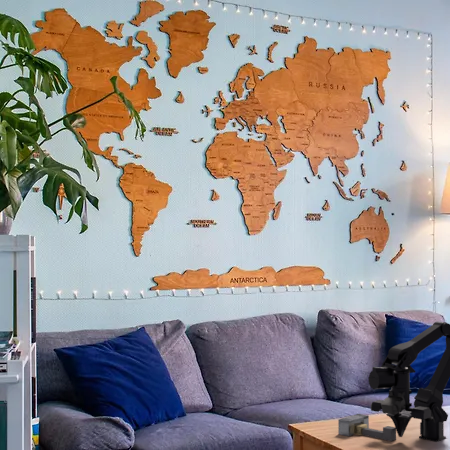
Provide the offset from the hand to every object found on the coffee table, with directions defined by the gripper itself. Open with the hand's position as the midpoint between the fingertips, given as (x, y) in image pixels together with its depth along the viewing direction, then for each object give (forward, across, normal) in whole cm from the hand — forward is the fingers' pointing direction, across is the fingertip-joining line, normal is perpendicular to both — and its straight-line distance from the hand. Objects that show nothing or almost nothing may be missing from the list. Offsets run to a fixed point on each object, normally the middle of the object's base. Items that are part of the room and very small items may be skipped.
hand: (400, 436), depth 230 cm
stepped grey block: (+2, -8, 0) cm, 8 cm away
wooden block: (+2, -16, 0) cm, 16 cm away
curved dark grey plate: (+2, -18, 0) cm, 18 cm away
